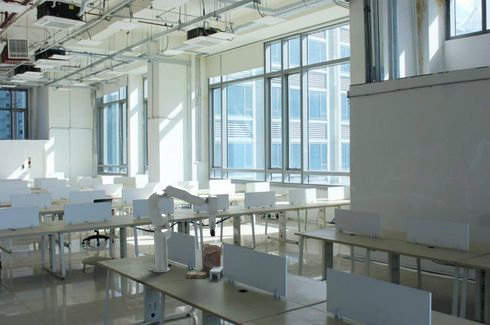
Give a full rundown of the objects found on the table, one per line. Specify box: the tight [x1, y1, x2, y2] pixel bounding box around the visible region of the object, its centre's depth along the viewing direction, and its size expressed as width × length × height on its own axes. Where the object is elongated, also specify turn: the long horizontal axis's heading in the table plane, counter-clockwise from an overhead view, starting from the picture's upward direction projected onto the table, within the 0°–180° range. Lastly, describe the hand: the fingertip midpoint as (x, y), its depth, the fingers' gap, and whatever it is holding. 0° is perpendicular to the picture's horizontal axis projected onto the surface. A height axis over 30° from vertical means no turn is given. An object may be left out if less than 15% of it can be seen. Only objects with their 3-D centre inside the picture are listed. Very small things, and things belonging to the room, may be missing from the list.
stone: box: [201, 243, 222, 273], centre depth 397 cm, size 19×11×20 cm, turn 52°
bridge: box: [209, 266, 225, 281], centre depth 377 cm, size 7×14×6 cm, turn 170°
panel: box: [186, 270, 209, 279], centre depth 380 cm, size 14×8×3 cm, turn 81°
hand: (212, 235), depth 387 cm, fingers open, 9 cm apart
